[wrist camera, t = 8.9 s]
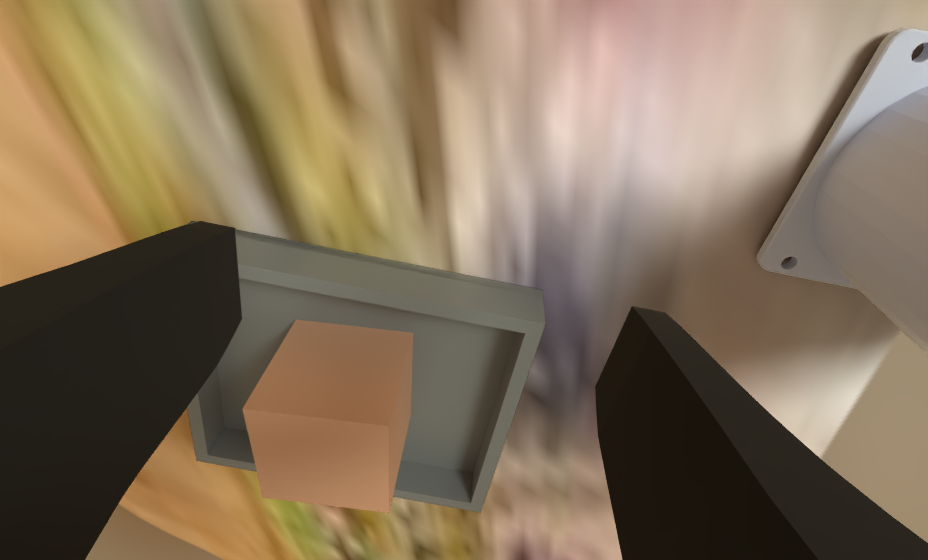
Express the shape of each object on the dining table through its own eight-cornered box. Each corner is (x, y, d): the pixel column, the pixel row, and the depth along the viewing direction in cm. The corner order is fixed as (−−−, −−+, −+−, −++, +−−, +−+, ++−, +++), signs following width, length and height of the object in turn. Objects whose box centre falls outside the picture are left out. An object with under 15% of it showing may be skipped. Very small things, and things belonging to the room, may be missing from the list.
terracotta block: (413, 332, 21) (388, 426, 17) (411, 414, 24) (389, 512, 20) (296, 319, 21) (242, 408, 17) (306, 402, 24) (263, 497, 20)
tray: (542, 290, 20) (545, 323, 18) (482, 474, 26) (480, 512, 25) (191, 220, 20) (158, 248, 18) (218, 425, 26) (196, 460, 24)
